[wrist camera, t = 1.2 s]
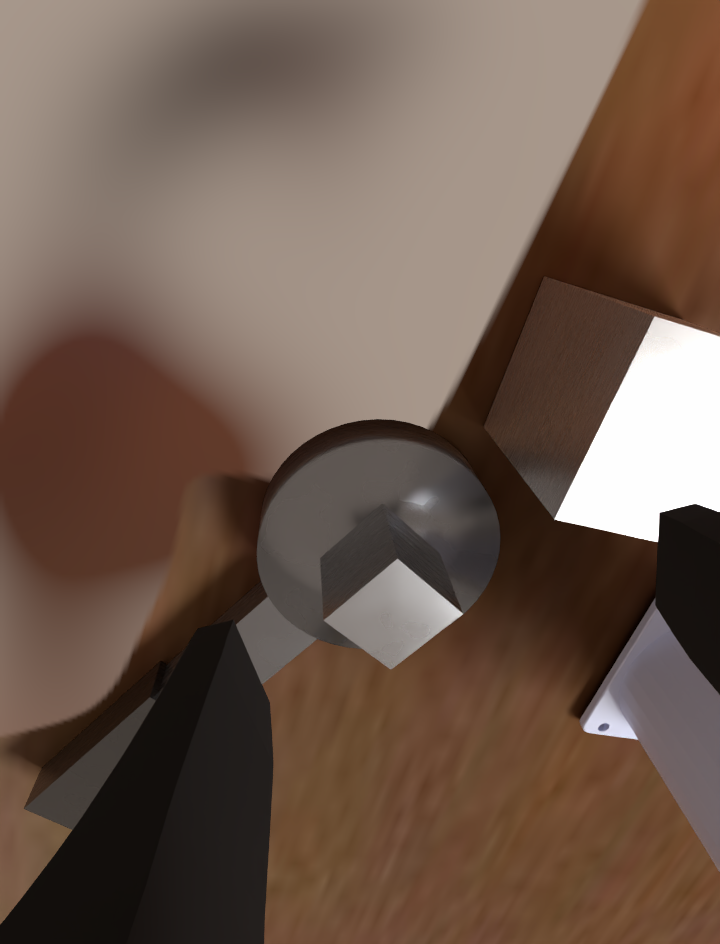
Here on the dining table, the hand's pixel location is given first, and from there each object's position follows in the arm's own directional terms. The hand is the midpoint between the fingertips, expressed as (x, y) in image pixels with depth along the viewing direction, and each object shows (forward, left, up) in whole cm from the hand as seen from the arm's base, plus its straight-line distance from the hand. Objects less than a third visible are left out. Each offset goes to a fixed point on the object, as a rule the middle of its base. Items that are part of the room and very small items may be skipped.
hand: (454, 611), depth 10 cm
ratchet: (+2, +10, -10) cm, 15 cm away
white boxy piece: (-6, -3, -10) cm, 12 cm away
